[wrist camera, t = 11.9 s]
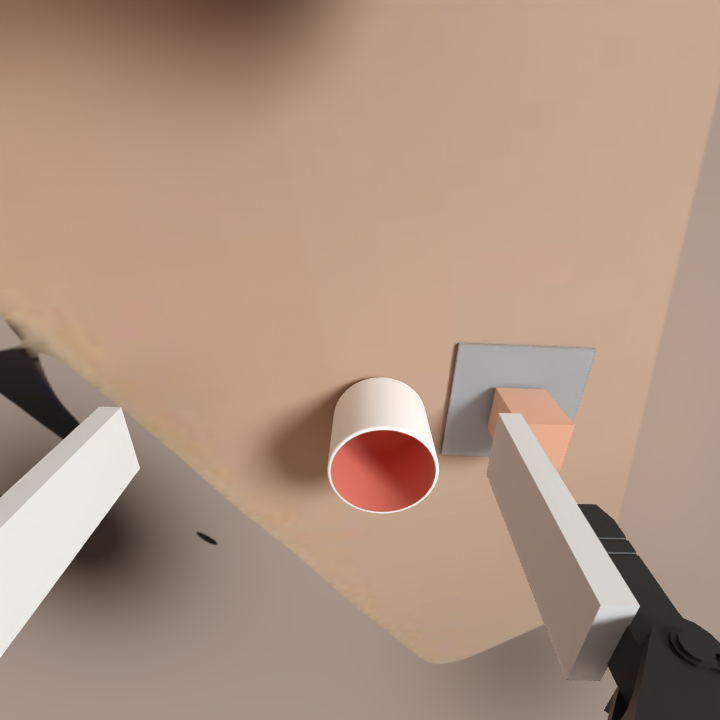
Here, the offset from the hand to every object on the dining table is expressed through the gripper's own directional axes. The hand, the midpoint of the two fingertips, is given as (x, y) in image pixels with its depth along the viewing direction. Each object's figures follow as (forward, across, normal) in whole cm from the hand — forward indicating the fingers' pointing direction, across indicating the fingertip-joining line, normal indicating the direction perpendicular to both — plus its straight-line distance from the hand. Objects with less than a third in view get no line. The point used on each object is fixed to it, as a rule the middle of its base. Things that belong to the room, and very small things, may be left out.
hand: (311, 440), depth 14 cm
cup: (+26, +4, -16) cm, 31 cm away
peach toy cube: (+25, +18, -15) cm, 34 cm away
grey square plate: (+26, +18, -15) cm, 35 cm away
